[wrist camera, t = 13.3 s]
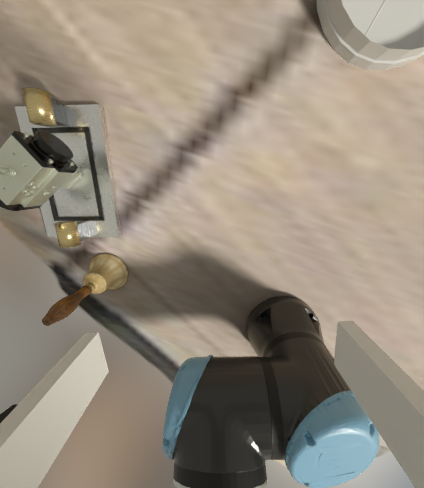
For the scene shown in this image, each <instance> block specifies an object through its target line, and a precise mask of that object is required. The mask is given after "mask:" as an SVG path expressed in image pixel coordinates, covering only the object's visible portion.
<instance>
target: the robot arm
mask: <svg viewBox="0 0 424 488" xmlns="http://www.w3.org/2000/svg"><path fill="white" fill-rule="evenodd" d="M247 333H248V338H249V341H250V344H251V346H252V347H253V349H254V350H255V352H256V353H257V355H258V356H259V357H213V355H209V356H208V357H194V358H189V359H187V360H186V361H184V362H183V364H182V365H181V367H180V368H179V370H178V373H177V375H176V378H175V380H174V383H173V387H172V390H171V394H170V398H169V402H168V407H167V412H166V418H165V424H164V431H163V436H164V439H163V453H164V455H165V456H166V457H168V458H169V459H170V460H172V459H175V464H174V477H173V482H174V484H175V486H176V488H265V487H266V485H267V476H266V466H265V460H269V459H271V460H285V463H286V466H287V469H288V470H289V471H290V473H291V475H292V477H293V478H294V479H295V480H296V481H297V482H298V483H300V484H303V483H304V485H306V486H307V487H311V488H326V487H332V486H336V485H339V484H342V483H345V482H347V481H349V480H351V479H353V478H355V477H356V476H358V475H359V474H360V473H362V472H363V471H364V470H366V469H367V468H368V466H369V465H370V464H371V463H372V462H373V460H374V458H375V456H376V454H377V452H378V448H379V434H378V432H379V433H380V435H381V436H382V438H383V439H384V441H385V443H386V444H387V446H388V447H389V449H390V450H391V452H392V453H393V455H394V456H395V458H396V459H397V461H398V462H399V464H400V465H401V467H402V468H403V470H404V471H405V473H406V474H407V476H408V477H409V479H410V480H411V482H412V483H413V485H414V487H415V488H424V391H423V390H422V389H421V388H420V387H419V386H418V385H417V384H416V383H415V382H414V381H413V380H412V379H411V378H410V377H409V376H408V375H407V374H406V373H405V372H404V371H403V370H402V369H401V368H400V367H399V366H398V365H397V364H396V363H395V362H394V361H393V360H392V359H391V358H390V357H389V356H388V355H387V354H386V353H385V352H384V351H383V350H382V349H381V348H380V347H379V346H378V345H377V344H376V343H375V342H374V341H373V340H371V339H370V338H369V337H368V336H367V335H366V334H365V333H364V332H363V331H362V330H361V329H360V328H359V327H358V326H357V325H356V324H355V323H354V322H353V321H343V322H338V325H337V336H336V346H335V357H334V358H333V357H332V355H331V354H330V352H329V351H328V349H327V348H326V346H325V345H324V342H323V337H322V332H321V328H320V323H319V321H318V318H317V316H316V315H315V314H314V312H313V311H312V309H311V308H310V307H309V306H308V305H307V304H306V303H304V302H303V301H301V300H299V299H296V298H293V297H275V298H271V299H268V300H266V301H264V302H262V303H261V304H259V305H258V306H257V307H256V308H255V309H254V310H253V311H252V313H251V314H250V316H249V318H248V322H247ZM108 372H109V371H108V367H107V363H106V359H105V355H104V351H103V348H102V344H101V340H100V336H99V333H98V332H92V333H85V334H84V335H83V336H82V337H81V338H80V339H79V340H78V341H77V342H76V343H75V345H74V346H73V347H72V348H71V349H70V350H69V351H68V352H67V353H66V354H65V355H64V356H63V357H62V358H61V360H59V362H58V363H57V364H56V365H55V366H54V367H53V368H52V369H51V370H50V371H49V372H48V373H47V374H46V375H45V376H44V377H43V379H42V380H41V381H40V382H39V383H38V384H37V385H36V386H35V387H34V388H33V389H32V390H31V391H30V393H28V395H27V396H26V397H25V398H24V399H23V400H22V401H21V402H20V403H19V404H18V405H12V406H11V407H10V408H8V409H7V410H6V411H4V412H3V413H2V414H0V488H38V486H39V485H40V483H41V481H42V480H43V478H44V476H45V475H46V473H47V472H48V470H49V468H50V466H51V465H52V463H53V462H54V460H55V458H56V457H57V455H58V453H59V452H60V450H61V449H62V447H63V445H64V444H65V442H66V440H67V439H68V437H69V435H70V434H71V432H72V431H73V429H74V427H75V426H76V424H77V422H78V420H79V419H80V417H81V416H82V414H83V413H84V411H85V409H86V408H87V406H88V404H89V403H90V401H91V399H92V397H93V396H94V395H95V393H96V391H97V390H98V388H99V386H100V384H101V383H102V381H103V380H104V378H105V376H106V375H107V373H108Z"/></svg>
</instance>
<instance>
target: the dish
mask: <svg viewBox="0 0 424 488" xmlns="http://www.w3.org/2000/svg"><path fill="white" fill-rule="evenodd" d="M316 2H317V13H318V16H319V20H320V23H321V27H322V30H323V33H324V35H325V36H326V38H327V40H328V41H329V43H330V45H331V46H332V48H333V50H334V51H335V52H336V53H338V54H339V55H340V56H341V57H342V58H343V59H344V60H346V61H347V62H348V63H350V64H353V65H355V66H358V67H360V68H363V69H367V70H387V69H392V68H396V67H400V66H404V65H406V64H408V63H409V62H411V61H413V60H415V59H417V58H419V57H420V56H422V55H424V0H316Z"/></svg>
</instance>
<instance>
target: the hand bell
mask: <svg viewBox="0 0 424 488" xmlns="http://www.w3.org/2000/svg"><path fill="white" fill-rule="evenodd" d="M127 279H128V270H127V267H126V265H125V264H124V262H123V261H122V260H121V259H120V258H118V257H117V256H114V255H112V254H99V255H97V256H95V257H94V258H93V259H92V260H91V262H90V264H89V272H88V273H87V274H86V275H85V276H84V278H83V285H84V286H83V287H82V288H81V289H80V290H78V291H77V292H76V293H74V294H72V295H69V296H67V297H65V298H63V299H61V300H59V301H58V302H57V303H56V304H54V305H53V306H52V307H51V308H50V310H49V311H48V313H47V314H46V316H45V317H44V318H43V319H42V322H43V324H44V325H47V326H49V325H51V324H52V323H54V322H57V321H59V320H62V319H64V318H65V317H67V316H68V315H70V314H71V313H72V312H73V311H74V310H75V309H76V308H77V306H78V305H79V303H80V301H81V300H82V299H83V298H85V297H86V296H87V295H89V294H90V293H93V294H100V293H102V292H104V291H105V290H114V289H118V288H120V287H122V286H123V285H124V284H125V283H126V281H127Z"/></svg>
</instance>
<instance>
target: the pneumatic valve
mask: <svg viewBox="0 0 424 488" xmlns="http://www.w3.org/2000/svg"><path fill="white" fill-rule="evenodd" d="M72 158H73V153H72V151H71V150H70V148H69V147H68V146H67V145H66V144H65V143H64V142H63V141H62V140H60V139H59V138H58V137H56V136H55V135H53V134H51V133H50V132H47V131H45V130H38V131H37V133H36V134H35V135H34V136H33V135H29V134H28V133H26V132H25V133H21V132H17V131H14V132H13V133H12V135H11V136H10V137H9V138H8V139H7V141H6V142H5V143H4V144H3V145H2V147H1V148H0V207H2V208H5V209H8V210H13V211H20V210H26V209H33V208H40V207H41V206H42V205H43V204H44V203H45V202H46V201H47V200H48V199H49V198H50V197H51V196H52V195H53V194H54V193H55V192H56V191H57V190H60V189H61V188H67V189H68V188H69V189H70V188H71V187H72V186H73V185H74V184H75V183H76V182H77V181H78V180H79V179H80V178H81V177H82V173H81V172H79V173H78V172H77V171H78V170H79V166H78V165H77V164H76V163H75V162H73V161H72V160H71V159H72Z"/></svg>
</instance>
